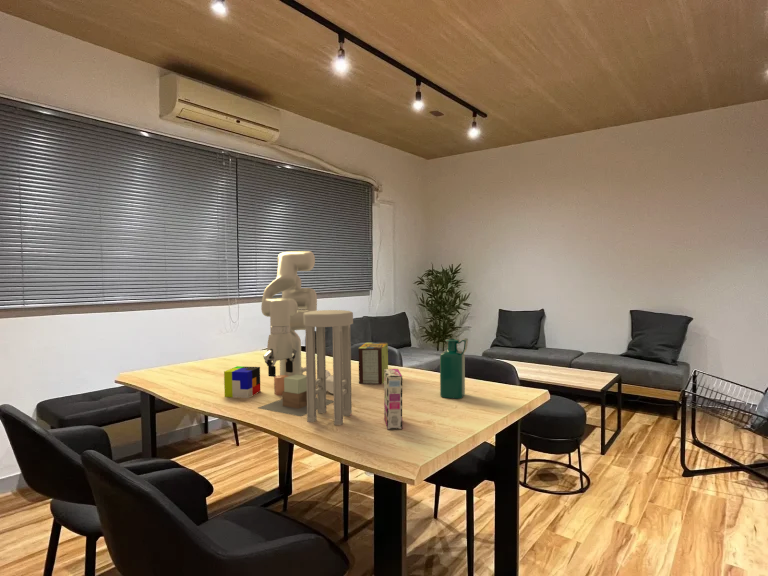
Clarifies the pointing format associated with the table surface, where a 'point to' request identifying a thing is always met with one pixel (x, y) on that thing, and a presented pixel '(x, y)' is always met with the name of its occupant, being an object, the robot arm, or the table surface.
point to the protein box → (372, 362)
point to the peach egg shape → (279, 384)
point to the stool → (341, 362)
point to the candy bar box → (393, 398)
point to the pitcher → (453, 370)
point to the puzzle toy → (242, 381)
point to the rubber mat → (289, 408)
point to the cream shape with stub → (329, 382)
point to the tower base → (294, 399)
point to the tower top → (295, 384)
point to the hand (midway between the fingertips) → (280, 374)
